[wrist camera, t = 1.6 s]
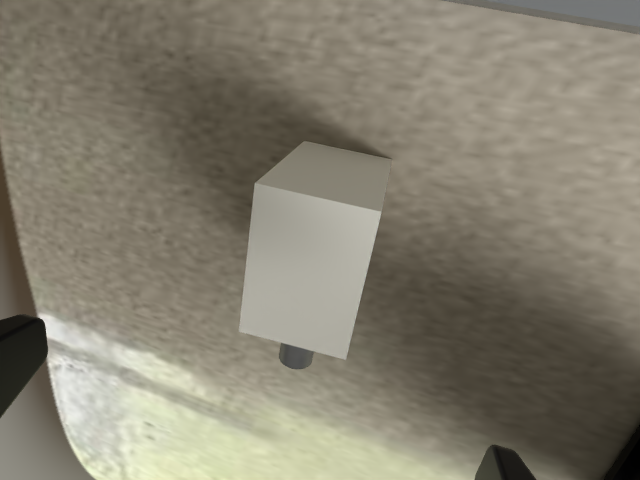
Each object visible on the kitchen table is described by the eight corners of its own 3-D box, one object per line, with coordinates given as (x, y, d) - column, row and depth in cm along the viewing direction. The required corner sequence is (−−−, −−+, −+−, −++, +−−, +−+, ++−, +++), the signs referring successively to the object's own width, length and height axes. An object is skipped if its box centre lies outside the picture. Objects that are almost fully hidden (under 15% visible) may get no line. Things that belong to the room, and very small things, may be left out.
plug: (357, 304, 20) (335, 400, 15) (282, 285, 20) (234, 372, 15) (392, 159, 17) (381, 212, 12) (304, 140, 17) (255, 183, 12)
